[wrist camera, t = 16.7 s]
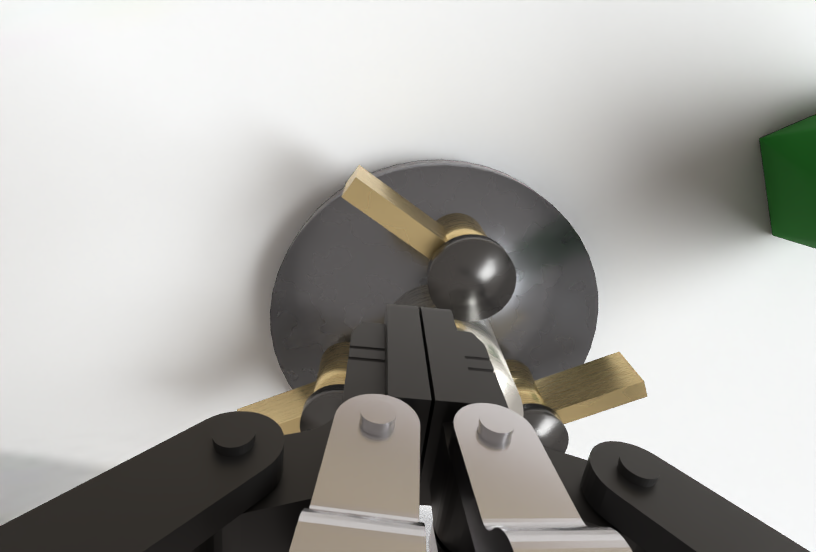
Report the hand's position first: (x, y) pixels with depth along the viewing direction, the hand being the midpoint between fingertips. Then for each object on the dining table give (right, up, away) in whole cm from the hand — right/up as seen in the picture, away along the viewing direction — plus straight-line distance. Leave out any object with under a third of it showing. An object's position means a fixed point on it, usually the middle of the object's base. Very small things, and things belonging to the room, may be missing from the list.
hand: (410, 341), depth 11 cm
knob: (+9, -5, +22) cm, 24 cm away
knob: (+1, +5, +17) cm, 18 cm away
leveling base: (+2, -1, +23) cm, 23 cm away
